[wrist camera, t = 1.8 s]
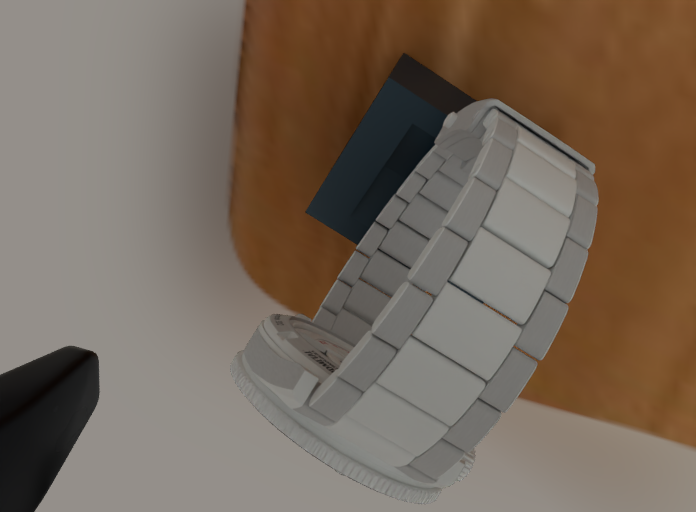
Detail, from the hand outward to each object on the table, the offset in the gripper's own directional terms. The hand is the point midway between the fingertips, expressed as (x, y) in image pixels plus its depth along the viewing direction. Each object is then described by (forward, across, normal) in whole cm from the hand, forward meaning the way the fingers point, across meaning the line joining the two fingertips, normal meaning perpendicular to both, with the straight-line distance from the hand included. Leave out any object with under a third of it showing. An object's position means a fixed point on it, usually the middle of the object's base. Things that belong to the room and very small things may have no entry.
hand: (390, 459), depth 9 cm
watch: (+12, 0, 0) cm, 12 cm away
